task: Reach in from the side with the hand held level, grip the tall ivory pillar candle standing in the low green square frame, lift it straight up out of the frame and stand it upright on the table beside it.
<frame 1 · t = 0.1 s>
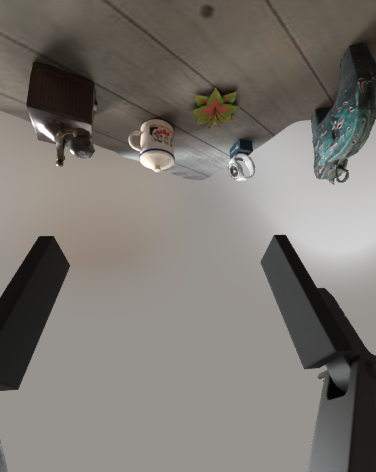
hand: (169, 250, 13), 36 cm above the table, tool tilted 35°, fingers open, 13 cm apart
teacup with lid: (152, 127, 54), on the table
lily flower: (214, 106, 47), on the table
watch: (240, 145, 62), on the table
manual coffee grinder: (68, 82, 41), on the table
ceramic cat: (331, 89, 43), on the table
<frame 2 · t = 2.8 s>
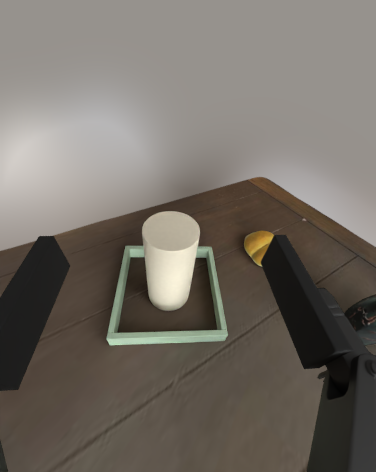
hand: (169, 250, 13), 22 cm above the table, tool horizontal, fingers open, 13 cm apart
pillar candle: (170, 265, 30), in the green square frame
bread roll: (262, 253, 44), on the table
green square frame: (169, 291, 35), on the table
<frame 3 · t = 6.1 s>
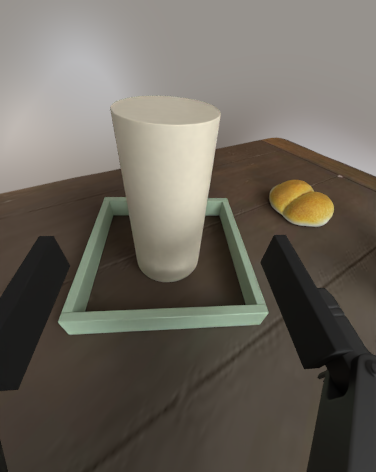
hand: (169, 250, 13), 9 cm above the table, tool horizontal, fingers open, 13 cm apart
pillar candle: (167, 203, 18), in the green square frame
bread roll: (294, 210, 32), on the table
green square frame: (168, 256, 24), on the table
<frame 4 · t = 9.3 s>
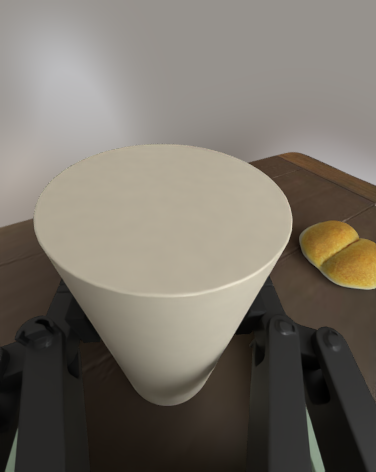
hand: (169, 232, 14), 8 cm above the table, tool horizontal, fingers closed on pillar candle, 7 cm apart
pillar candle: (169, 306, 11), in the green square frame, touching gripper
bread roll: (333, 260, 25), on the table
green square frame: (169, 350, 17), on the table
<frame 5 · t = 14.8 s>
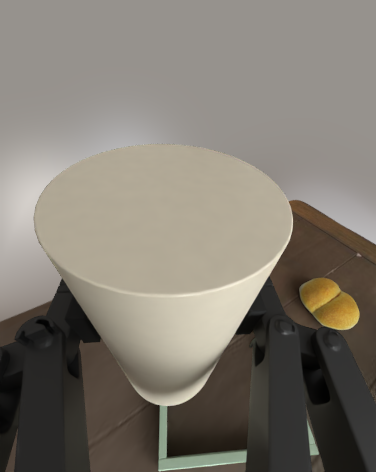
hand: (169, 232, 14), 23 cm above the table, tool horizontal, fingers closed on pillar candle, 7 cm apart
pillar candle: (170, 307, 11), point 22 cm above the table, touching gripper
bread roll: (322, 305, 36), on the table
green square frame: (222, 371, 28), on the table
when the fingers open (8 cm above the table, at t = 20.5 s): pillar candle stays where it is, on the table.
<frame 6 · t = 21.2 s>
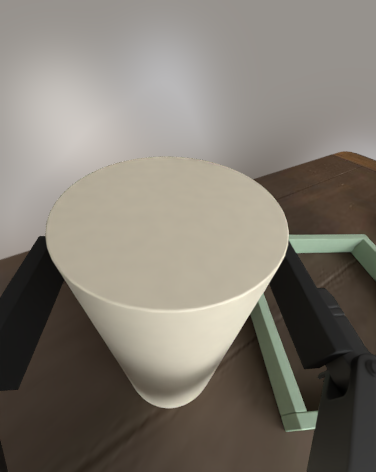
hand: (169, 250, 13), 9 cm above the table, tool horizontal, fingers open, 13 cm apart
pillar candle: (171, 312, 12), on the table
green square frame: (329, 309, 20), on the table
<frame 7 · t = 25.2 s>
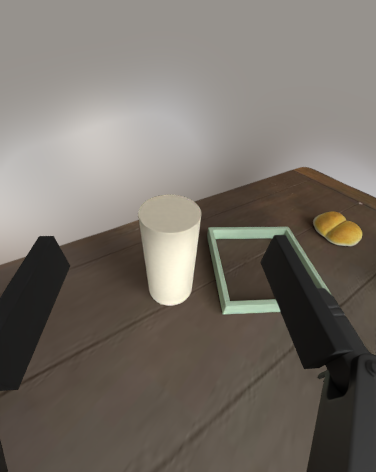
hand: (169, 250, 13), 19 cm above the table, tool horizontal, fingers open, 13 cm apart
pillar candle: (170, 255, 28), on the table
bread roll: (332, 233, 45), on the table
green square frame: (258, 267, 37), on the table
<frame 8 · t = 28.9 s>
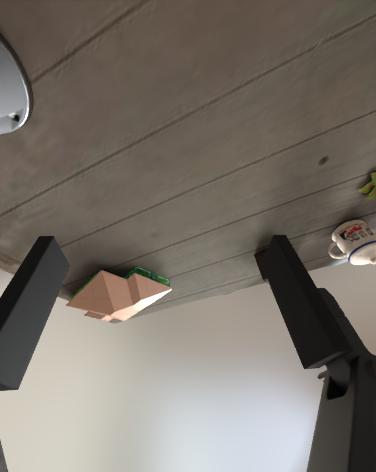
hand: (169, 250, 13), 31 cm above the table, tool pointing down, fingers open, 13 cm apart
teacup with lid: (341, 232, 59), on the table
house: (118, 289, 72), on the table
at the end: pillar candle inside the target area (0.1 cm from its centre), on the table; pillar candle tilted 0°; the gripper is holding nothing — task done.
